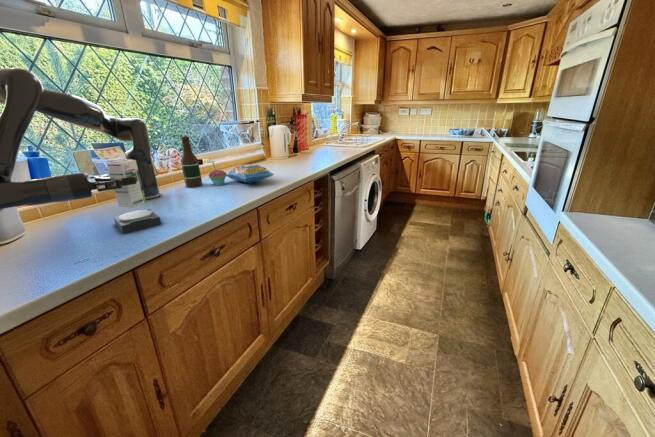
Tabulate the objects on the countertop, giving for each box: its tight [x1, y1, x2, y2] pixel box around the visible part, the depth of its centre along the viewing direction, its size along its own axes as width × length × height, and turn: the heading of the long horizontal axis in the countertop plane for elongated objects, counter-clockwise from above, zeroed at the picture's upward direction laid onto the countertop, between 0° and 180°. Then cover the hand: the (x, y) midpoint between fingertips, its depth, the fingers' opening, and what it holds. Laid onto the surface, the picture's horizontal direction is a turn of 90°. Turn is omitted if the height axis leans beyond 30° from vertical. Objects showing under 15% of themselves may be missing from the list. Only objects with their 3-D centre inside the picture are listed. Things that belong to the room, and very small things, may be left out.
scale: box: [113, 208, 162, 234], centre depth 101 cm, size 12×11×3 cm
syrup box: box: [105, 158, 147, 208], centre depth 97 cm, size 6×6×14 cm
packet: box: [226, 164, 275, 185], centre depth 153 cm, size 17×24×8 cm
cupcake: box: [208, 159, 228, 186], centre depth 151 cm, size 9×8×12 cm
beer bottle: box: [180, 135, 203, 188], centre depth 147 cm, size 8×8×24 cm
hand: (132, 178), depth 98 cm, fingers closed on syrup box, 7 cm apart
